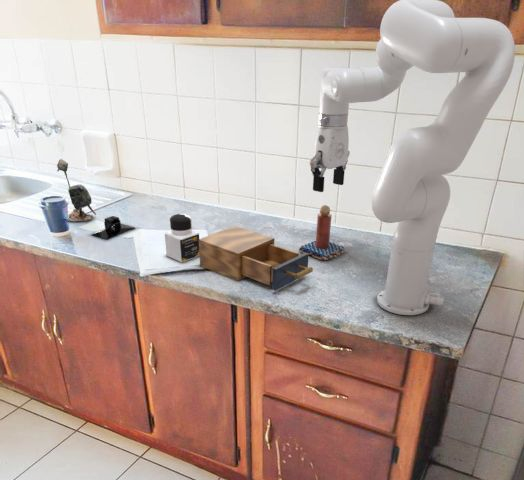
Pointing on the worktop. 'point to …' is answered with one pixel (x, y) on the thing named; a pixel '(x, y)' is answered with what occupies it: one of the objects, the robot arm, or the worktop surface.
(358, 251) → the worktop surface
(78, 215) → the bird figurine
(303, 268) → the drawer
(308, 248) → the woven mat
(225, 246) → the cabinet
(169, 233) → the medicine bottle
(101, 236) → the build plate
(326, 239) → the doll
